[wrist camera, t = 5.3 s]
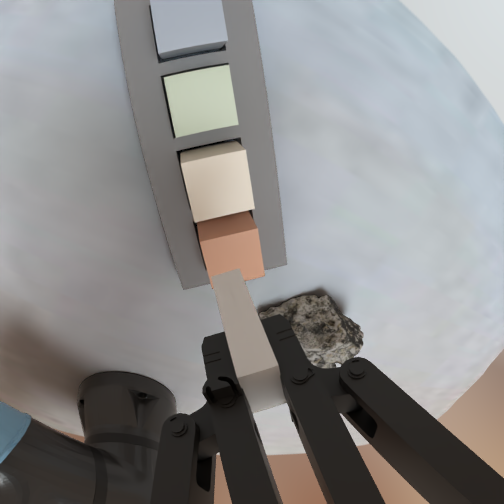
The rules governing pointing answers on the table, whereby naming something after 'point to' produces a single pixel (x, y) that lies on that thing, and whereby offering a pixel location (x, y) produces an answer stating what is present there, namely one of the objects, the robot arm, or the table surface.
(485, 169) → the table surface
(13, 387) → the table surface
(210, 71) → the key sage
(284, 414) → the table surface
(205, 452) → the robot arm
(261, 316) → the rock
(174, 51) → the key slate
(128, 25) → the grey socket tray
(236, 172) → the key cream
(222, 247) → the key terracotta
